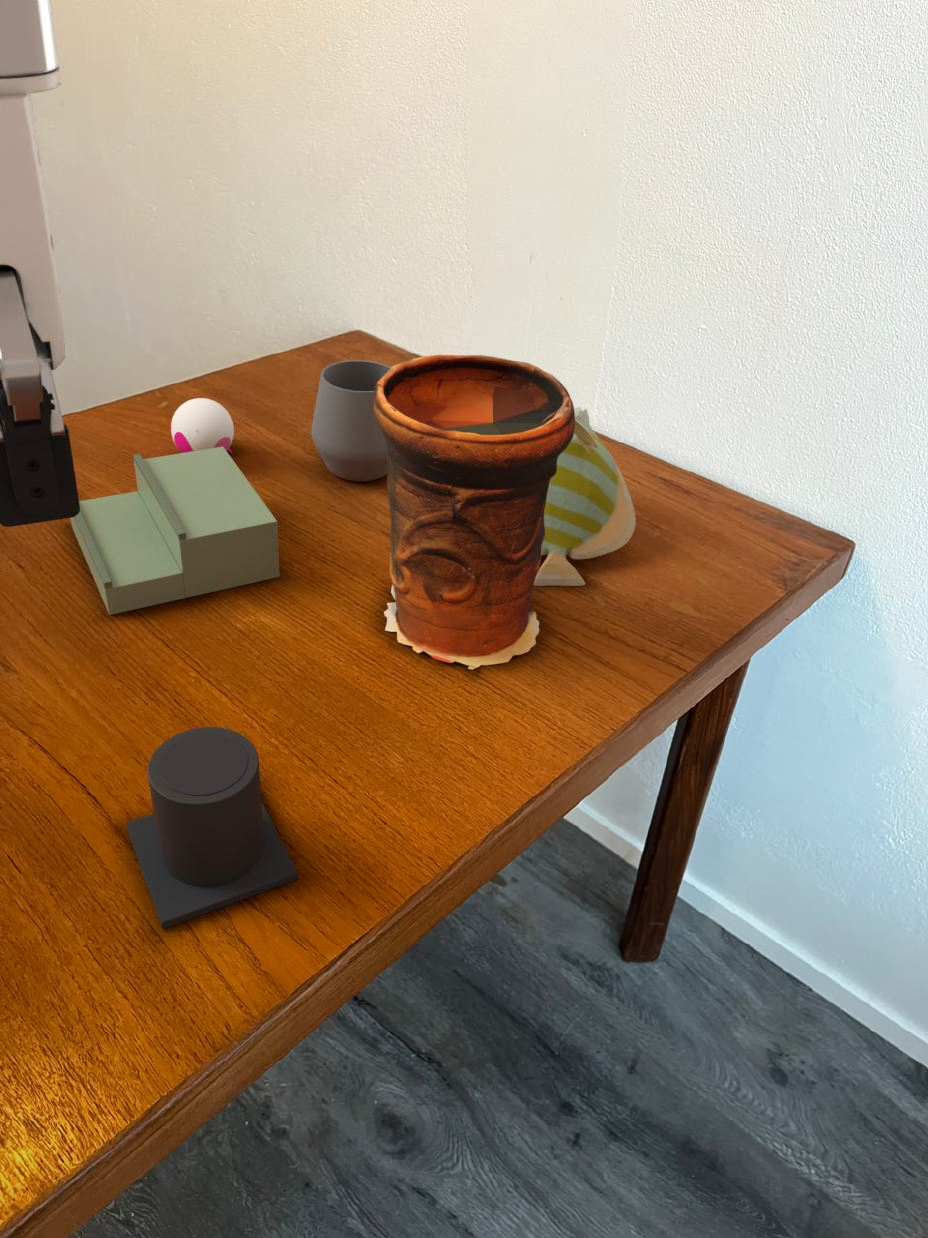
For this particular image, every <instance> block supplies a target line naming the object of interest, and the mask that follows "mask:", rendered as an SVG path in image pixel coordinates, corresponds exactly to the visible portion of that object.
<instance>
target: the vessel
mask: <svg viewBox="0 0 928 1238" xmlns="http://www.w3.org/2000/svg"><path fill="white" fill-rule="evenodd" d="M390 367H391V368H390V369H389V371H388V372H387V373H386V374H384V375H383V376H382V377H381V378H380V379H379V380H377V384H376V385H375V391H374V395H373V408H374V414H375V417H376V420H377V423H378V426H379V428H380V429H381V431H382V433H383V435H384V437H385V438H386V453H387V462H388V473H387V479H386V485H387V499H388V505H389V515H390V516H389V517H390V547H389V549H390V550H389V576H390V580H391V581H390V582H391V583H392V585H391V590H390V594H391V595H392V597H393V599H394V600H395V601H394V602H387V603H386V605H387V609H386V610H385V611H384V612H383V615H384V617H385V618H386V625H385V628H384V631H386V632H392V633H396V639H397V643H399V644H402V645H406V646H410V647H412V650H413V651H414V652H416V653H417V654H420V653H422V652H425V653H426V654H428V655H429V656H430V657H431V658H433V659H434V660H436V661H440V662H444V663H448V664H452V663H454V662H456V663H459V664H463V665H465V666H468V667H467V669H468V670H474V669H478V668H479V667H480V666H490V665H491V666H492V665H498V664H504V663H508V662H509V661H510V660H511V659H512V658H513V656H520V655H521V656H522V655H523V654H525V653H528V652H529V651H531V649H532V647H534V646H535V645H537V641H536V637H537V636H538V635H539V632H540V628H539V626H540V621H539V620H538V619H537V613H536V611H534V610H533V609H532V608H533V605H532V604H531V603H532V599H533V592H534V586H535V585H534V581H535V578H536V575H537V573H538V571H539V569H540V567H541V566H540V565H541V562H542V556H541V546H542V543H543V541H544V539H545V526H544V509H545V505H546V499H547V493H548V488H549V482H550V479H551V478H552V477H553V476H554V475H555V474H556V472H557V459H558V457H559V455H560V454H561V453H562V452H563V451H564V450H565V449H566V448H567V446H568V445H569V443H570V442H571V440H572V438H573V436H574V431H575V412H574V409H575V407H574V402H573V400H572V397H571V395H570V393H569V392H568V390H567V388H566V387H565V385H564V384H563V383H562V382H561V381H560V380H559V379H557V377H555V376H554V375H553V374H552V373H550V372H547V371H545V370H543V369H542V368H540V367H538V366H536V365H534V364H532V363H530V362H525V361H520V360H511V359H507V358H504V357H503V358H502V357H497V356H493V355H483V354H432V355H423V356H420V357H419V356H418V357H415V358H408V359H404V360H403V361H402V362H400V363H397V364H395V365H394V364H393V365H392V366H390Z"/></svg>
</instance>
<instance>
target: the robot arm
mask: <svg viewBox="0 0 928 1238" xmlns="http://www.w3.org/2000/svg"><path fill="white" fill-rule="evenodd" d="M54 21H55V20H54V13H53V5H52V0H0V525H1V526H2V527H5V528H12V527H13V528H14V527H18V526H26V525H31V524H38V523H39V524H40V523H44V522H45V523H46V522H51V521H52V522H53V521H57V520H58V521H59V520H65V519H66V520H67V519H70V518H72V517H75V516H76V515H78V513H79V512H80V504H79V501H80V499H79V492H78V485H77V478H76V471H75V465H74V459H73V452H72V447H71V439H70V432H69V428H68V426H67V424H64V419H63V415H62V410H61V406H60V402H59V397H58V393H57V389H56V384H55V380H54V375H53V371H55V370H56V369H58V368H59V367H60V366H61V364H63V362H64V360H65V359H66V343H65V332H64V331H65V330H64V323H63V322H64V321H63V313H62V312H63V311H62V303H61V294H60V285H59V277H58V270H57V269H58V268H57V261H56V254H55V248H54V240H53V239H54V238H53V232H52V224H51V218H50V211H49V204H48V197H47V192H46V190H47V189H46V185H45V178H44V177H45V176H44V171H43V165H42V156H41V150H40V144H39V139H38V131H37V125H36V118H35V113H34V106H33V102H32V101H33V100H32V95H31V94H38V93H42V92H48V91H52V90H55V89H58V87H59V86H61V85H62V77H61V68H60V59H59V52H58V43H57V35H56V29H55V22H54Z"/></svg>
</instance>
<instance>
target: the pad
mask: <svg viewBox="0 0 928 1238" xmlns="http://www.w3.org/2000/svg"><path fill="white" fill-rule="evenodd" d="M262 817H263V832H264V847H263V851H262V854H261V856H260V858H259V860H258V862H257V863H256V864H255V866H254V867H253V868H252V869H251V870H250V871H249V872H247V873H246V874H245V875H243V876H242V877H240V878H238V879H236V880H234V881H232V882H230V883H227V884H223V885H219V886H212V887H199V886H193V885H189V884H186V883H183V882H181V881H179V880H177V879H176V878H175V877H173V876H172V875H171V874H170V873H169V872H168V871H167V869H166V868H165V866H164V864H163V862H162V858H161V852H160V846H159V840H158V834H157V828H156V822H155V815H154V813H153V814H150V815H146V816H143V817H140V818H136V819H134V820H130V821H127V822H126V823H125V826H126V830H127V833H128V836H129V838H130V841H131V844H132V848H133V850H134V853H135V856H136V859H137V862H138V864H139V867H140V870H141V873H142V875H143V879H144V881H145V885H146V886H147V889H148V893H149V895H150V898H151V901H152V904H153V907H154V909H155V912H156V916H157V918H158V920H159V923H160V926H161V929H162V930H164V929H167V928H170V927H172V926H175V925H178V924H181V923H184V922H186V921H188V920H191V919H194V918H197V917H199V916H203V915H205V914H207V913H210V912H214V911H216V910H219V909H222V908H223V907H227V906H230V905H233V904H235V903H238V902H240V901H242V900H247V899H248V898H251V897H253V896H256V895H260V894H262V893H265V892H267V891H270V890H273V889H275V888H279V887H280V886H281V887H282V886H283V885H286V884H289V883H292V882H294V881H297V880H298V879H299V877H298V876H299V875H298V874H299V872H298V870H297V869H296V867H295V864H294V863H293V861H292V859H291V857H290V855H289V853H288V851H287V849H286V847H285V844H284V843H283V841H282V839H281V837H280V834H279V832H278V831H277V828H276V827H275V825H274V823H273V821H272V819H271V817H270V815H269V813H268V811H267V809H266V807H265V805H264V803H263V802H262Z"/></svg>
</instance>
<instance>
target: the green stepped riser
mask: <svg viewBox="0 0 928 1238" xmlns="http://www.w3.org/2000/svg"><path fill="white" fill-rule="evenodd" d="M132 457H133V465H134V466H133V467H134V473H135V481H136V487H137V490H136V491H131V492H125V493H118V494H113V495H108V496H101V497H97V498H89V499H84V500H79V504H80V512H79V513H78V515H76V516H75V517H72V518H69V519H70V523H71V528H72V531H73V533H74V535H75V538H76V540H77V543H78V545H79V547H80V549H81V552H82V554H83V556H84V559H85V561H86V563H87V566H88V569H89V571H90V573H91V576H92V577H93V580H94V582H95V585H96V587H97V589H98V591H99V594H100V596H101V599H102V601H103V603H104V606H105V608H106V610H107V613H108V615H109V616H112V615H117V614H121V613H125V612H129V611H135V610H138V609H142V608H147V607H152V606H156V605H161V604H165V603H169V602H174V601H177V600H183V599H187V598H191V597H197V596H201V595H205V594H209V593H214V592H219V591H222V590H223V591H224V590H228V589H232V588H237V587H241V586H245V585H249V584H254V583H258V582H263V581H267V580H272V579H276V578H280V556H279V555H280V554H279V553H280V552H279V529H278V519H276V517H275V516H274V515H273V513H272V511H270V509H269V508H268V506H267V505H266V503H265V502H264V501H263V499H262V498H261V497H260V495H259V494H258V493H257V491H256V490H255V488H254V487H253V486H252V484H251V483H250V482H249V480H248V479H247V478H246V476H245V474H244V473H243V471H242V470H241V469H240V468H239V466H238V465H237V464H236V462H235V461H234V459H233V458H232V456H231V455H230V454H229V452H228V450H227V451H226V450H225V448H224V447H217V448H211V449H204V450H198V451H192V452H186V453H182V452H179V453H174V454H169V455H168V454H167V455H162V456H156V457H150V458H149V457H148V458H144V459H143V457H142V455H141V454H140V453H136V454H133V455H132Z"/></svg>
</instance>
